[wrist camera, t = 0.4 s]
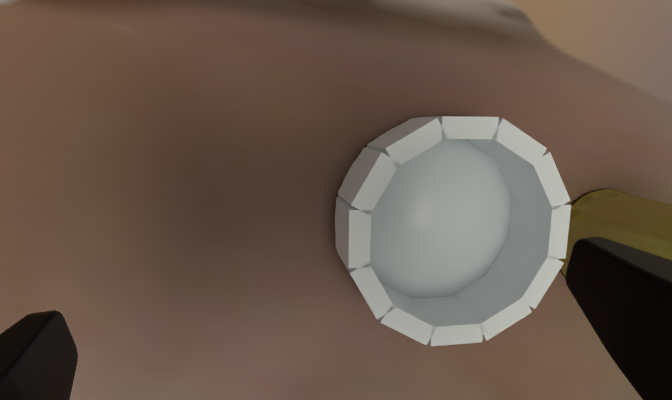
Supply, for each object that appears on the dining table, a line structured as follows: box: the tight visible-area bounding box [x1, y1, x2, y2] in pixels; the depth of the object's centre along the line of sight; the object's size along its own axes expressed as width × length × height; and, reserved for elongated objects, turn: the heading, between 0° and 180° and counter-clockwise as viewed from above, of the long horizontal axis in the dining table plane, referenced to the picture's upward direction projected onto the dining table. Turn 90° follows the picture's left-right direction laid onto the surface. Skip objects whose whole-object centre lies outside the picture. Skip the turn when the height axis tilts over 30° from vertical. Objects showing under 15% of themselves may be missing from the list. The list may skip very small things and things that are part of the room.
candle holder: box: [335, 116, 571, 346], centre depth 23 cm, size 11×11×4 cm
